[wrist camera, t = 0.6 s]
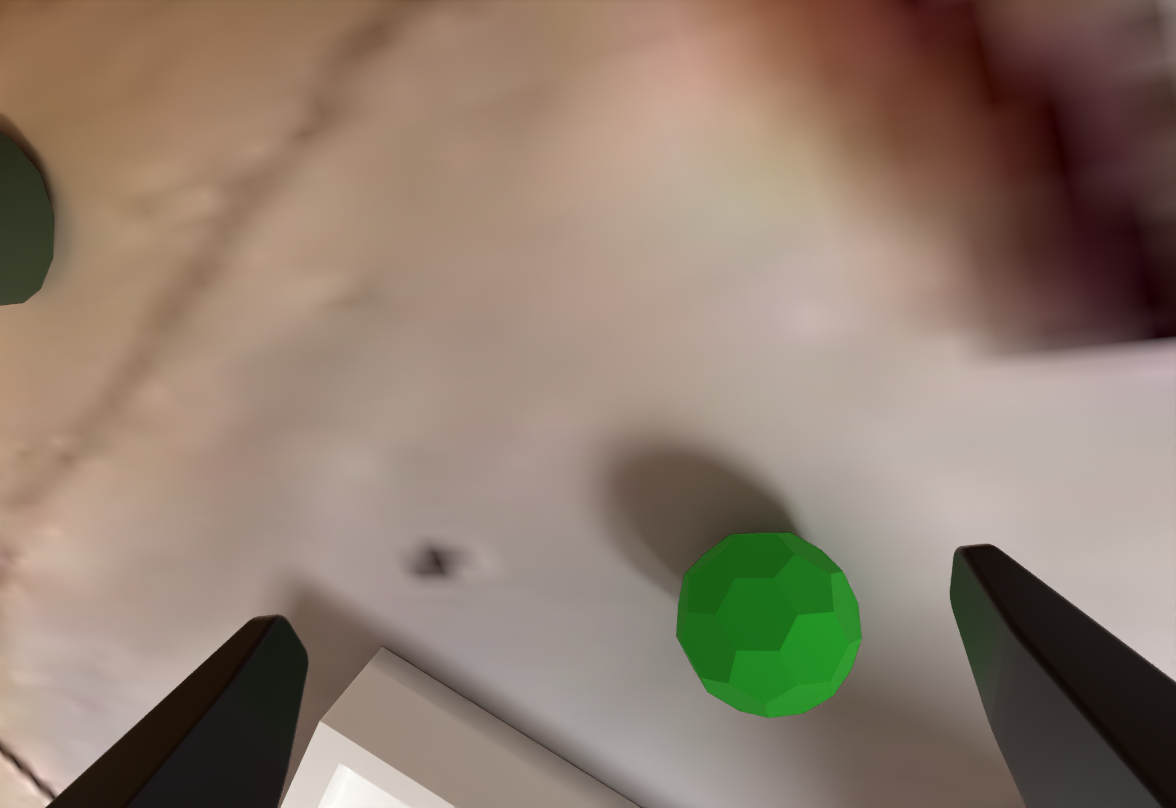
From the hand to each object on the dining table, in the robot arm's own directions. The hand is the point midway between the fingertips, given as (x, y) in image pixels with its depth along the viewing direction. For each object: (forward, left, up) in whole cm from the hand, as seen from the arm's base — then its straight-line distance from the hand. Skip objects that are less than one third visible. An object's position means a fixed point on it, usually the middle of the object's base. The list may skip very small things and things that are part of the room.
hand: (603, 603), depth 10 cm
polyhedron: (-5, +5, -13) cm, 15 cm away
